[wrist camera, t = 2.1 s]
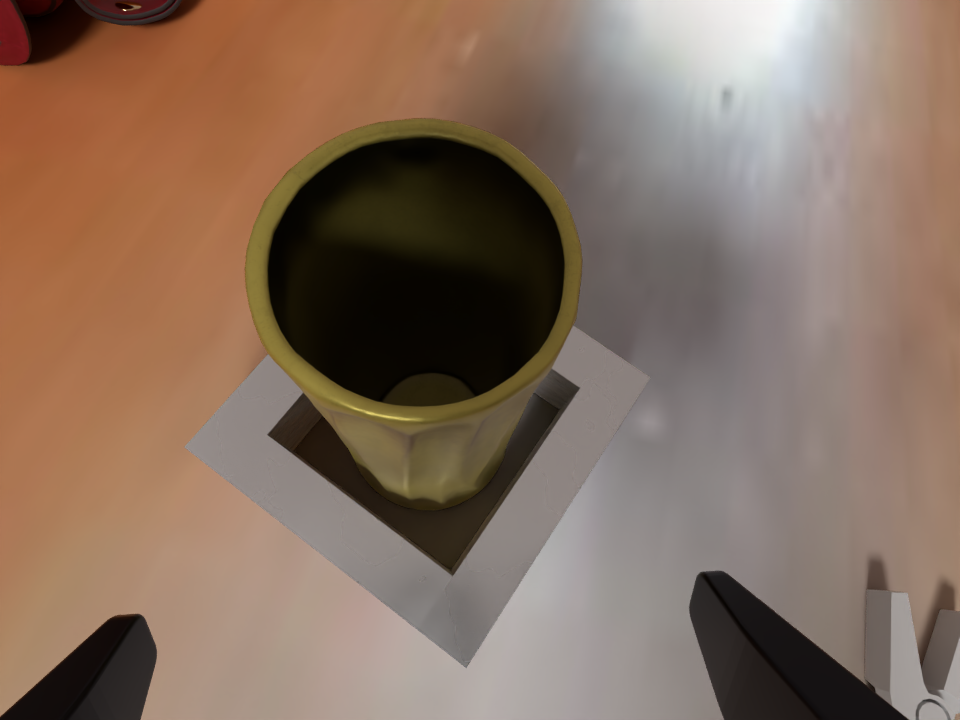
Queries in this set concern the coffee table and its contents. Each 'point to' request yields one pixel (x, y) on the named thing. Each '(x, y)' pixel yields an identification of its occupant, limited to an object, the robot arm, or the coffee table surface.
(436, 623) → the socket block
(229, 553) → the coffee table surface
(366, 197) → the vase
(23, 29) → the handbag
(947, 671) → the pliers
